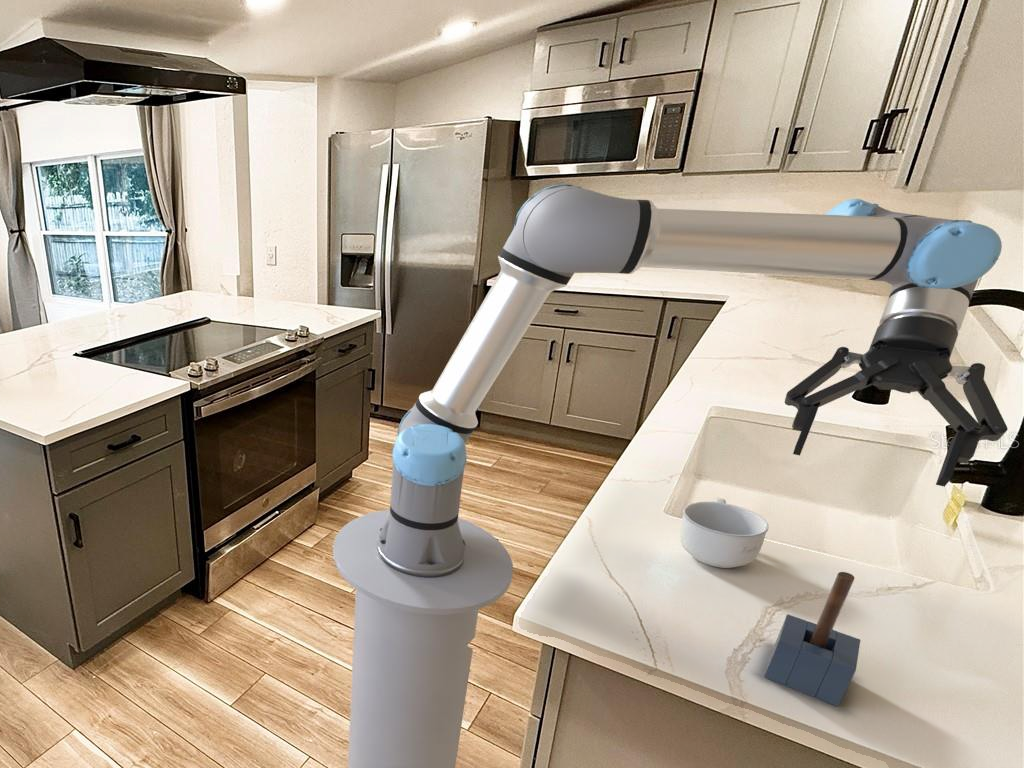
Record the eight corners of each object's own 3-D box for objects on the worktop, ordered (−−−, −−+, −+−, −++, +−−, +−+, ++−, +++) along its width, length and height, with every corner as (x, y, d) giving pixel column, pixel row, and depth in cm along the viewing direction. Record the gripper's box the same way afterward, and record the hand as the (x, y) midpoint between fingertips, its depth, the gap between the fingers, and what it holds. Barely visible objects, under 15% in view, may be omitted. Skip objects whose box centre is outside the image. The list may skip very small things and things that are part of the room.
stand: (764, 677, 79) (778, 641, 77) (772, 648, 83) (787, 613, 81) (837, 707, 74) (856, 670, 72) (843, 675, 79) (860, 639, 76)
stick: (795, 676, 79) (837, 576, 71) (797, 669, 80) (839, 569, 72) (810, 681, 78) (854, 581, 70) (812, 674, 79) (855, 574, 71)
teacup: (749, 585, 95) (765, 542, 92) (667, 560, 102) (679, 519, 99) (758, 545, 104) (773, 505, 101) (682, 524, 111) (693, 486, 108)
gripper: (1052, 359, 77) (1003, 507, 74) (792, 331, 94) (743, 450, 91) (1080, 326, 72) (1028, 485, 69) (799, 302, 88) (747, 428, 85)
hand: (866, 465), depth 80 cm, fingers open, 13 cm apart
